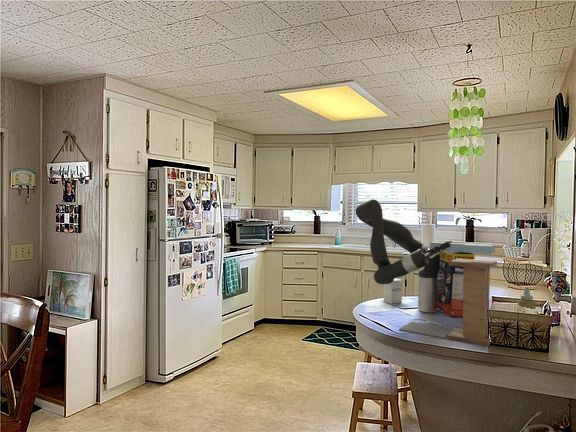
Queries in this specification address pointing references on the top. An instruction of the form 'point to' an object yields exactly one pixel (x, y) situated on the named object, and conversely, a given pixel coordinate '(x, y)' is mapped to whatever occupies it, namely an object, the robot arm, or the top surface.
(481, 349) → the top surface
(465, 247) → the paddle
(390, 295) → the supplement box
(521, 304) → the squeeze bottle
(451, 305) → the cereal box
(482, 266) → the wooden pedestal stand
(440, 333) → the mat
